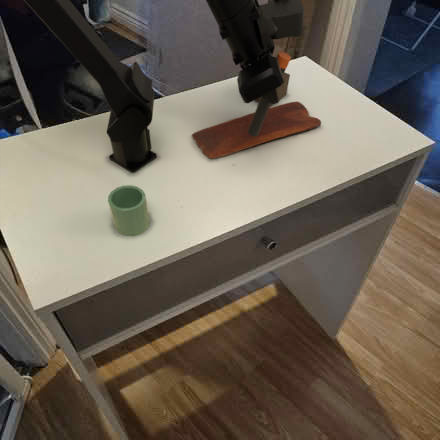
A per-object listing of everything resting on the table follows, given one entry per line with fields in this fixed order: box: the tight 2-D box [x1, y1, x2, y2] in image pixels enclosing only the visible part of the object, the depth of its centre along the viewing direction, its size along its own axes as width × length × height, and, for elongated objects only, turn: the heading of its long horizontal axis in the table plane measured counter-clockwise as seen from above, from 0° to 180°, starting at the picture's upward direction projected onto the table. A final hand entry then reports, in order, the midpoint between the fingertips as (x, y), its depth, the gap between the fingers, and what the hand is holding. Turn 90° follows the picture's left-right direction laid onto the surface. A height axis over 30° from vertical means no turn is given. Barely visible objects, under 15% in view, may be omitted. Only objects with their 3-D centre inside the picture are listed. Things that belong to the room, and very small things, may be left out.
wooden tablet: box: [191, 101, 322, 159], centre depth 79 cm, size 27×10×2 cm, turn 118°
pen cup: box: [107, 184, 150, 237], centre depth 62 cm, size 6×6×6 cm
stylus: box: [248, 51, 292, 136], centre depth 66 cm, size 2×2×14 cm
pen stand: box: [254, 71, 291, 108], centre depth 86 cm, size 7×7×4 cm
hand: (274, 99), depth 66 cm, fingers closed on stylus, 2 cm apart
